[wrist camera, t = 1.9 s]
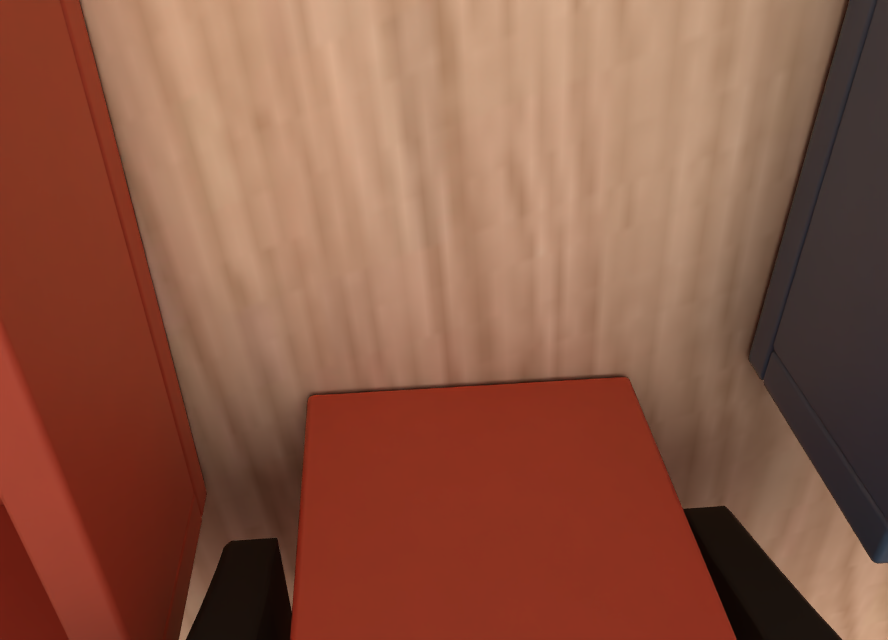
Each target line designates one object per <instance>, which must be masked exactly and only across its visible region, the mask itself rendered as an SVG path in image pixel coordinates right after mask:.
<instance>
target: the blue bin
mask: <svg viewBox="0 0 888 640" xmlns="http://www.w3.org/2000/svg"><path fill="white" fill-rule="evenodd" d="M749 361H750V363H751V365H752V366H753V368H754V370H755V371H756V373H757V375H758V376H759V378H760V379H761V380H764V385H765V387H766V389H767V390H768V392H769V394H770V395H771V397H772V398H773V400H774V402H775V403H776V405H777V407H778V408H779V410H780V412H781V413H782V415H783V416H784V418H785V420H786V421H787V423H788V425H789V426H790V428H791V429H792V431H793V433H794V434H795V436H796V438H797V439H798V441H799V443H800V444H801V446H802V447H803V449H804V451H805V452H806V454H807V456H808V457H809V459H810V460H811V462H812V464H813V465H814V467H815V469H816V470H817V472H818V474H819V475H820V477H821V478H822V480H823V482H824V483H825V485H826V487H827V488H828V490H829V492H830V493H831V495H832V496H833V498H834V500H835V501H836V503H837V505H838V506H839V508H840V509H841V511H842V513H843V514H844V516H845V518H846V519H847V521H848V523H849V524H850V526H851V527H852V529H853V531H854V532H855V534H856V536H857V537H858V539H859V540H860V542H861V544H862V545H863V547H864V549H865V550H866V552H867V554H868V555H869V557H870V558H871V560H872V561H873V562H875V563H888V0H849V3H848V7H847V10H846V14H845V17H844V21H843V24H842V28H841V32H840V35H839V39H838V42H837V46H836V49H835V53H834V56H833V60H832V63H831V67H830V71H829V74H828V78H827V81H826V85H825V88H824V92H823V95H822V99H821V102H820V106H819V110H818V113H817V117H816V120H815V124H814V127H813V131H812V134H811V138H810V141H809V145H808V149H807V152H806V156H805V159H804V163H803V166H802V170H801V173H800V177H799V180H798V184H797V188H796V191H795V195H794V198H793V202H792V205H791V209H790V212H789V216H788V219H787V223H786V227H785V230H784V234H783V237H782V241H781V244H780V248H779V251H778V255H777V259H776V262H775V266H774V269H773V273H772V276H771V280H770V283H769V287H768V290H767V294H766V298H765V301H764V305H763V308H762V312H761V315H760V319H759V322H758V326H757V329H756V333H755V337H754V340H753V344H752V347H751V351H750V354H749Z"/></svg>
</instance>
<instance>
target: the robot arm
mask: <svg viewBox="0 0 888 640" xmlns="http://www.w3.org/2000/svg"><path fill="white" fill-rule="evenodd" d="M683 511H684V513H685V516H686V518H687V520H688V523H689V525H690V528H691V530H692V532H693V535H694V537H695V540H696V542H697V545H698V547H699V549H700V552H701V554H702V557H703V559H704V562H705V564H706V566H707V569H708V571H709V574H710V576H711V579H712V581H713V583H714V586H715V588H716V591H717V593H718V595H719V598H720V600H721V603H722V605H723V608H724V610H725V612H726V615H727V617H728V620H729V622H730V625H731V627H732V629H733V632H734V634H735V637H736V639H737V640H842V639H841V638H840V637H839V635H838V634H837V633H836V632H835V631H834V630H833V629H832V628H831V627H830V626H829V625H828V624H827V622H826V621H825V620H824V619H823V618H822V617H821V616H820V615H819V614H818V613H817V612H816V610H815V609H814V608H813V607H812V606H811V605H810V604H809V603H808V601H807V600H806V599H805V598H804V597H803V596H802V595H801V594H800V592H799V591H798V590H797V589H796V588H795V587H794V585H793V584H792V583H791V582H790V581H789V580H788V579H787V577H786V576H785V575H784V574H783V573H782V572H781V571H780V569H779V568H778V567H777V566H776V565H775V563H774V562H773V561H772V560H771V559H770V558H769V556H768V555H767V554H766V553H765V552H764V551H763V549H762V548H761V547H760V546H759V545H758V543H757V542H756V541H755V540H754V539H753V537H752V536H751V535H750V534H749V533H748V531H747V530H746V529H745V528H744V527H743V526H742V524H741V523H740V522H739V521H738V520H737V518H736V517H735V516H734V515H733V514H732V512H731V511H730V510H729V509H728V508H726V507H725V506H718V507H704V508H690V509H683ZM291 620H292V611H291V606H290V601H289V596H288V591H287V585H286V580H285V575H284V570H283V565H282V559H281V554H280V549H279V544H278V539H277V538H266V539H252V540H238V541H231V542H229V543H228V544H227V545H226V546H225V547H224V548H223V551H222V554H221V557H220V560H219V563H218V565H217V568H216V571H215V573H214V576H213V578H212V581H211V583H210V586H209V588H208V591H207V593H206V596H205V598H204V600H203V603H202V605H201V607H200V610H199V612H198V614H197V616H196V619H195V621H194V623H193V625H192V627H191V630H190V632H189V634H188V636H187V638H186V640H290V634H291Z"/></svg>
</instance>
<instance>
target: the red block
mask: <svg viewBox="0 0 888 640" xmlns="http://www.w3.org/2000/svg"><path fill="white" fill-rule="evenodd" d="M290 640H737V639H736V637H735V634H734V632H733V629H732V627H731V625H730V622H729V620H728V617H727V615H726V612H725V610H724V608H723V605H722V603H721V600H720V598H719V595H718V593H717V591H716V588H715V586H714V583H713V581H712V579H711V576H710V574H709V571H708V569H707V566H706V564H705V562H704V559H703V557H702V554H701V552H700V549H699V547H698V545H697V542H696V540H695V537H694V535H693V532H692V530H691V528H690V525H689V523H688V520H687V518H686V516H685V513H684V511H683V508H682V506H681V503H680V501H679V499H678V496H677V494H676V491H675V489H674V486H673V484H672V482H671V479H670V477H669V474H668V472H667V470H666V467H665V465H664V462H663V460H662V457H661V455H660V453H659V450H658V448H657V445H656V443H655V440H654V438H653V436H652V433H651V431H650V428H649V426H648V423H647V421H646V419H645V416H644V414H643V411H642V409H641V407H640V404H639V402H638V399H637V397H636V394H635V392H634V390H633V387H632V385H631V382H630V380H629V379H628V378H626V377H616V378H599V379H582V380H565V381H548V382H531V383H514V384H497V385H480V386H463V387H446V388H429V389H412V390H395V391H378V392H361V393H344V394H327V395H313V396H310V397H309V399H308V401H307V414H306V428H305V442H304V455H303V469H302V483H301V496H300V510H299V524H298V538H297V551H296V565H295V579H294V592H293V606H292V620H291V634H290Z"/></svg>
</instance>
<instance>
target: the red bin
mask: <svg viewBox="0 0 888 640" xmlns="http://www.w3.org/2000/svg"><path fill="white" fill-rule="evenodd" d="M206 495H207V492H206V488H205V484H204V481H203V477H202V473H201V469H200V465H199V461H198V457H197V454H196V450H195V446H194V442H193V438H192V434H191V430H190V427H189V423H188V419H187V415H186V411H185V407H184V403H183V400H182V396H181V392H180V388H179V384H178V380H177V376H176V373H175V369H174V365H173V361H172V357H171V353H170V349H169V346H168V342H167V338H166V334H165V330H164V326H163V322H162V319H161V315H160V311H159V307H158V303H157V299H156V295H155V292H154V288H153V284H152V280H151V276H150V272H149V268H148V265H147V261H146V257H145V253H144V249H143V245H142V241H141V238H140V234H139V230H138V226H137V222H136V218H135V214H134V211H133V207H132V203H131V199H130V195H129V191H128V187H127V184H126V180H125V176H124V172H123V168H122V164H121V160H120V157H119V153H118V149H117V145H116V141H115V137H114V133H113V130H112V126H111V122H110V118H109V114H108V110H107V106H106V103H105V99H104V95H103V91H102V87H101V83H100V79H99V76H98V72H97V68H96V64H95V60H94V56H93V52H92V49H91V45H90V41H89V37H88V33H87V29H86V25H85V22H84V18H83V14H82V10H81V6H80V2H79V0H0V640H179V636H180V631H181V626H182V620H183V615H184V610H185V605H186V600H187V595H188V589H189V584H190V579H191V574H192V569H193V564H194V559H195V553H196V548H197V543H198V538H199V533H200V528H201V522H202V518H201V517H202V515H203V511H204V506H205V501H206Z"/></svg>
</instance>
